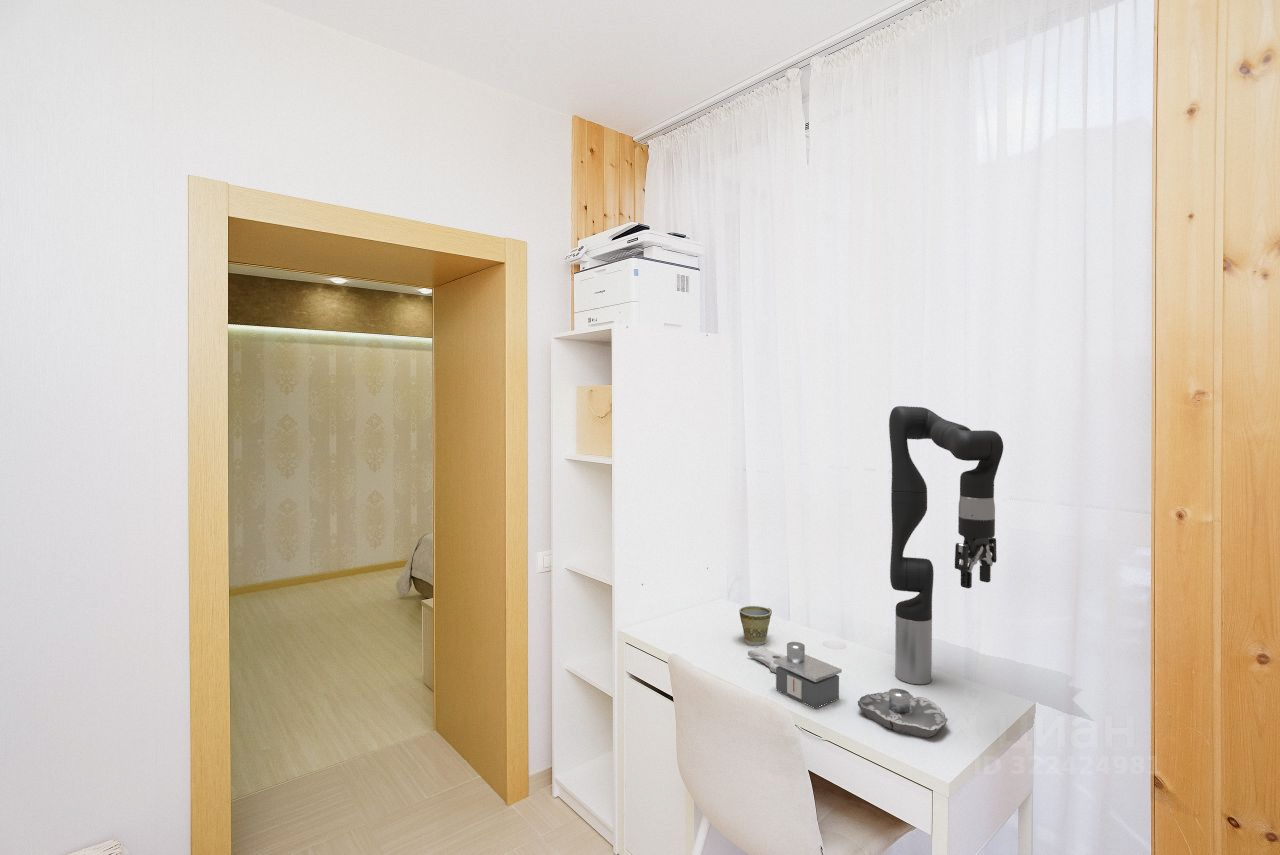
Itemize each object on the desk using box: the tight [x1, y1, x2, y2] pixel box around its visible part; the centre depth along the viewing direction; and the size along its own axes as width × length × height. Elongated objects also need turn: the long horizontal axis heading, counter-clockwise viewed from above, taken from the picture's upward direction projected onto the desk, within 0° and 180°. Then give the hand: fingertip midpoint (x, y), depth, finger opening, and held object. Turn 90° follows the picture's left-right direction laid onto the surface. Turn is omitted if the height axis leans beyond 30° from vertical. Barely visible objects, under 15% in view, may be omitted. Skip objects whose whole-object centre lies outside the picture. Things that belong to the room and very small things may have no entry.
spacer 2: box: [888, 688, 911, 714], centre depth 149 cm, size 5×5×4 cm
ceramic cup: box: [738, 605, 773, 646], centre depth 201 cm, size 13×10×10 cm
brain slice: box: [857, 691, 949, 739], centre depth 150 cm, size 20×17×3 cm
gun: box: [747, 646, 786, 674], centre depth 181 cm, size 18×3×10 cm
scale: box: [775, 666, 840, 709], centre depth 163 cm, size 13×10×6 cm
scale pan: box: [774, 654, 843, 682], centre depth 163 cm, size 14×10×1 cm
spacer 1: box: [786, 641, 806, 663], centre depth 166 cm, size 5×5×4 cm
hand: (975, 584), depth 146 cm, fingers open, 8 cm apart
